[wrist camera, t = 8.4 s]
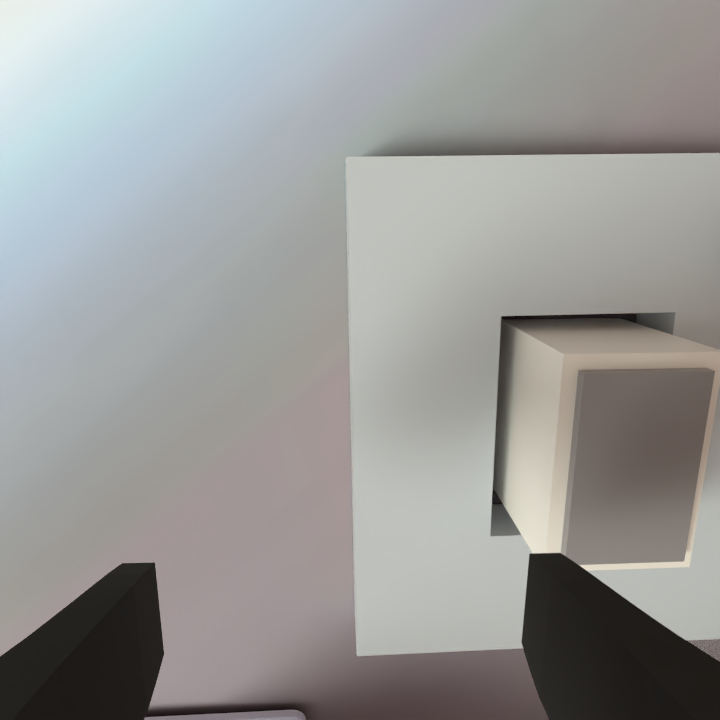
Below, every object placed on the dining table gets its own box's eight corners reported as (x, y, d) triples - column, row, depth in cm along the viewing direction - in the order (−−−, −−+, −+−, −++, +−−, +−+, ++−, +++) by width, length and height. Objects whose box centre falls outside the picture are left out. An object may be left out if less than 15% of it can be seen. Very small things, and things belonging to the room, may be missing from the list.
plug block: (600, 481, 19) (696, 574, 14) (491, 484, 19) (548, 579, 14) (618, 317, 18) (733, 354, 13) (500, 319, 18) (568, 357, 12)
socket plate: (715, 598, 21) (773, 655, 18) (354, 614, 20) (357, 675, 17) (791, 160, 17) (879, 147, 14) (345, 165, 16) (347, 153, 13)
